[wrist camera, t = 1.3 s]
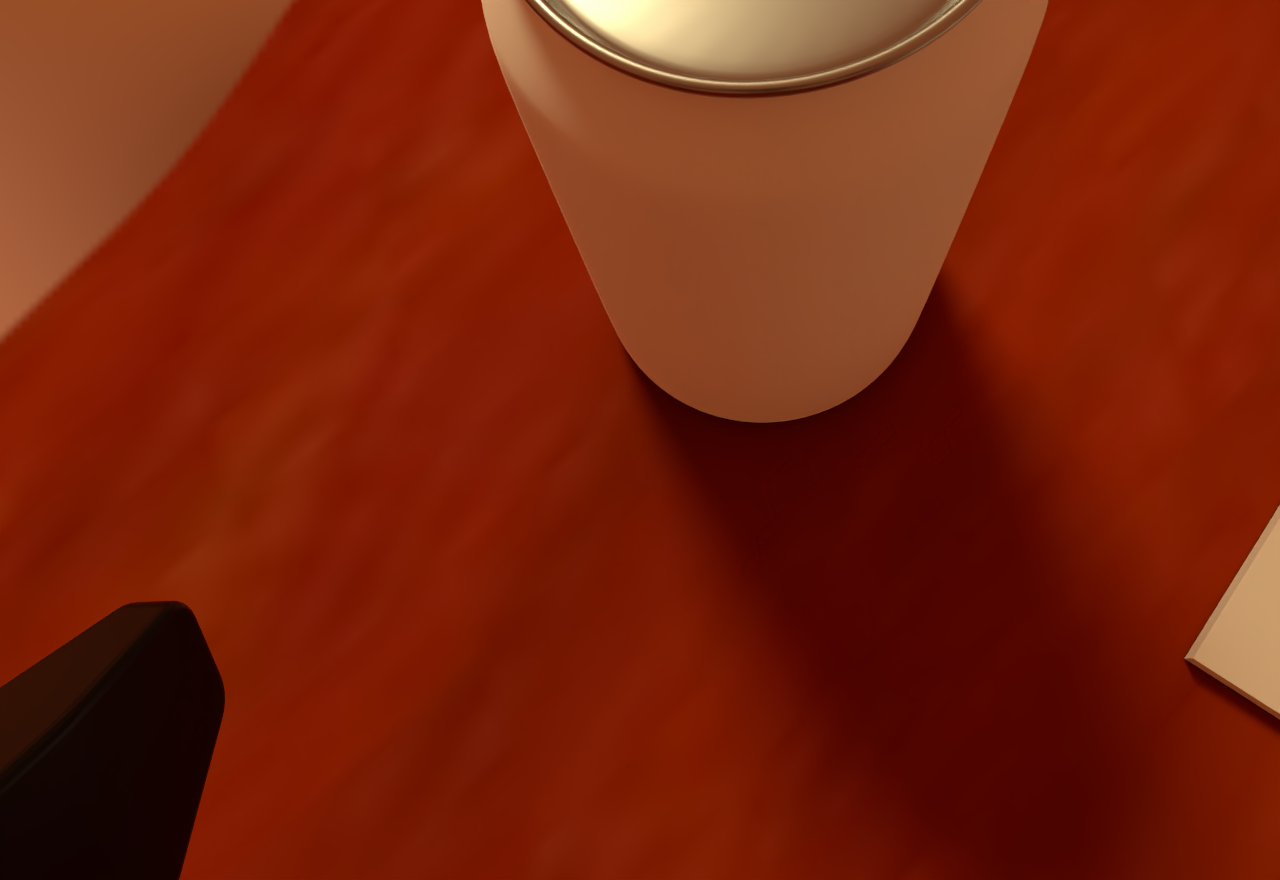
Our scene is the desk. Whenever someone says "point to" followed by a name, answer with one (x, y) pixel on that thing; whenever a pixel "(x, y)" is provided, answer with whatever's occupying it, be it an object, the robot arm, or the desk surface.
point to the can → (763, 174)
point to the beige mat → (1248, 627)
